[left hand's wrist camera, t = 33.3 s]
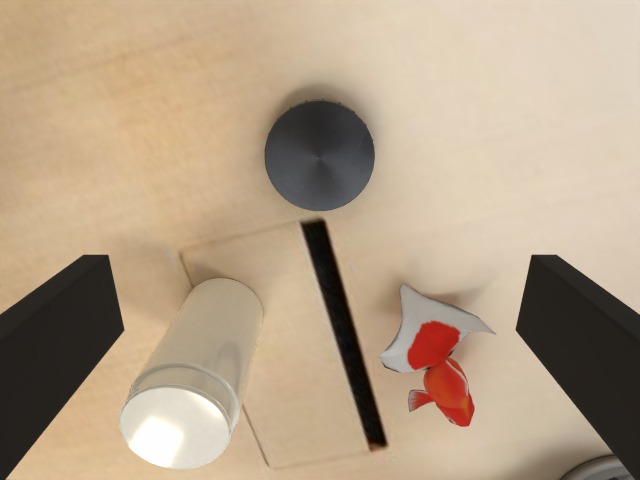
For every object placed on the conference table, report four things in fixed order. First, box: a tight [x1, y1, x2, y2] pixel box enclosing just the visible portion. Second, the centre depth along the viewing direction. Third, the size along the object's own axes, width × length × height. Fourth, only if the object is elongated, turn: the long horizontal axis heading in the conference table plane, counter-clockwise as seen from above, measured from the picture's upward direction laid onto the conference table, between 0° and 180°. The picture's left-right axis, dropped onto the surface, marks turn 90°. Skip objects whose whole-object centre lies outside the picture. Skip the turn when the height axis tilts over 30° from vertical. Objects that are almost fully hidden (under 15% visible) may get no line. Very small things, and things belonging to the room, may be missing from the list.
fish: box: [379, 283, 497, 427], centre depth 40 cm, size 11×16×10 cm
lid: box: [265, 99, 375, 211], centre depth 36 cm, size 10×10×2 cm
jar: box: [119, 278, 263, 469], centre depth 36 cm, size 8×8×16 cm
